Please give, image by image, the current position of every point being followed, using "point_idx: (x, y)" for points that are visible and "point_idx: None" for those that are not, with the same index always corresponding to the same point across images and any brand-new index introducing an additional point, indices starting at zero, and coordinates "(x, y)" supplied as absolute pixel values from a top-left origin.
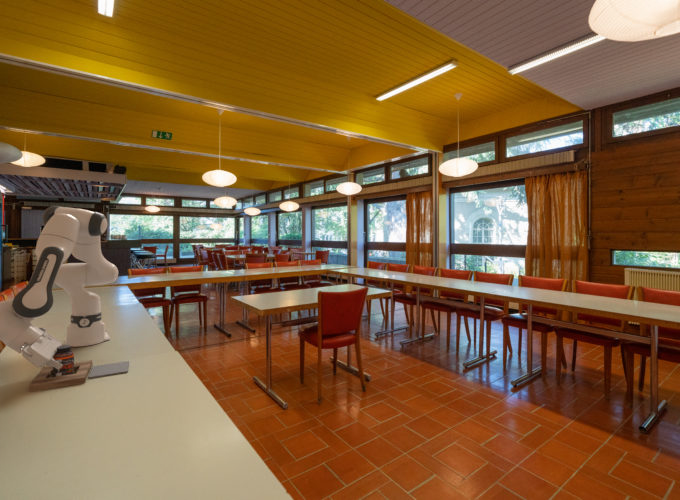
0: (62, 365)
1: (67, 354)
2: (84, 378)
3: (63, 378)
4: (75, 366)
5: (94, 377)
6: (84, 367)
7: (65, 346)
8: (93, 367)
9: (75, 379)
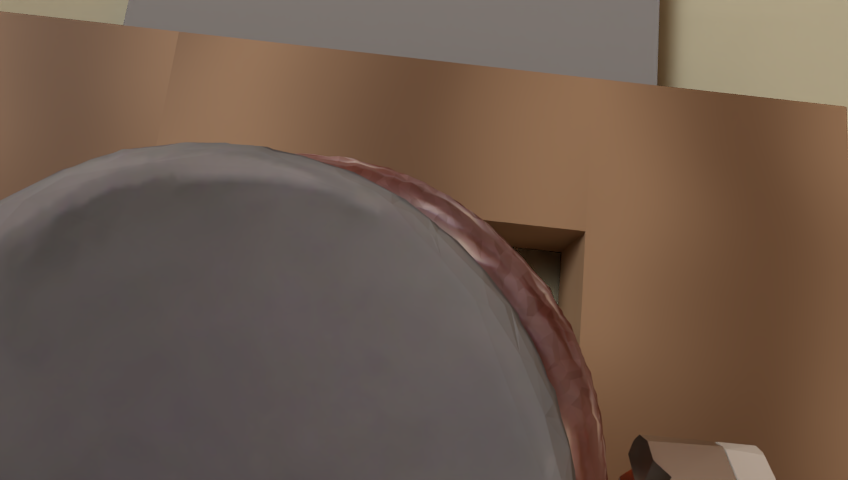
0: (755, 446)
1: (557, 327)
2: (833, 121)
3: (750, 408)
4: None
5: (653, 30)
6: (305, 116)
7: (204, 419)
8: (203, 25)
9: (842, 234)
